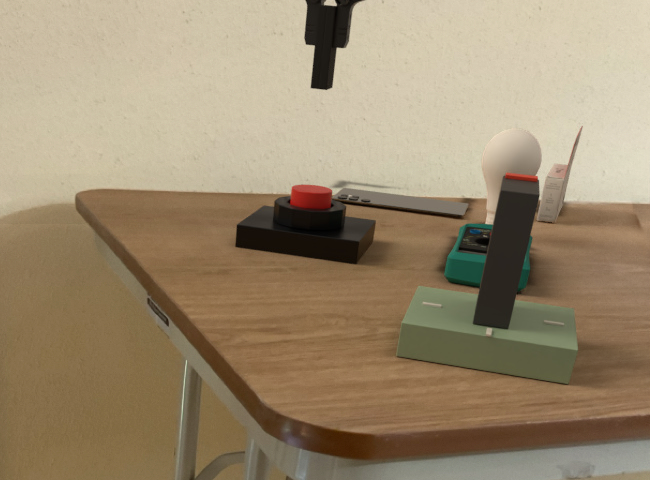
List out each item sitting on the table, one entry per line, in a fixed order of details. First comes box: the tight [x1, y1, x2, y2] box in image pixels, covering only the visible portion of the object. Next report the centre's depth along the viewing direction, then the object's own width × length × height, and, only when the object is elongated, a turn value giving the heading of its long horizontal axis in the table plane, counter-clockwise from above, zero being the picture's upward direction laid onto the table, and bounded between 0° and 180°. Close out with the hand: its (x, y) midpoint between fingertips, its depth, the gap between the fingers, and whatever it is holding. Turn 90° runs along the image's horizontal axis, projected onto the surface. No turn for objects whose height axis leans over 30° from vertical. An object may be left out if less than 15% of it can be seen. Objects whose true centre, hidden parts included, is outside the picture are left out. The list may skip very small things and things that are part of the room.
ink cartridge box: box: [536, 125, 584, 224], centre depth 108 cm, size 2×11×10 cm, turn 159°
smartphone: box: [332, 187, 469, 219], centre depth 109 cm, size 8×1×16 cm
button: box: [290, 184, 333, 209], centre depth 86 cm, size 4×4×2 cm
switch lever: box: [473, 173, 541, 329], centre depth 62 cm, size 6×2×9 cm, turn 164°
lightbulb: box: [480, 127, 543, 224], centre depth 95 cm, size 6×6×11 cm
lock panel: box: [395, 285, 579, 385], centre depth 65 cm, size 12×10×3 cm
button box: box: [234, 195, 377, 265], centre depth 88 cm, size 12×10×4 cm
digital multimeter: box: [443, 223, 534, 293], centre depth 84 cm, size 7×15×3 cm, turn 163°
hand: (321, 87), depth 81 cm, fingers closed
